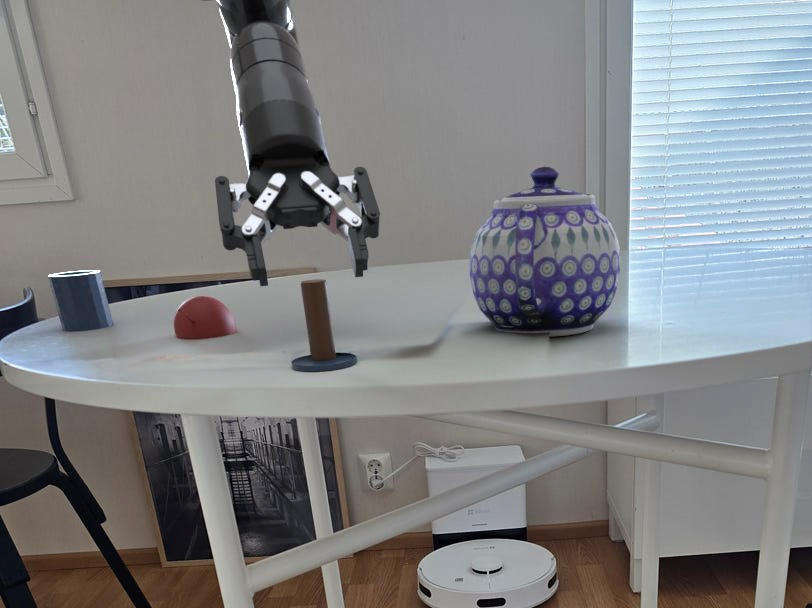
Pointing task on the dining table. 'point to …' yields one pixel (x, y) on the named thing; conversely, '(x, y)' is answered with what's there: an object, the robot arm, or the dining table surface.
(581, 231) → the teapot
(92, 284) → the tin
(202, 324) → the fruit
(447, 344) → the dining table surface
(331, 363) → the peg on round base
